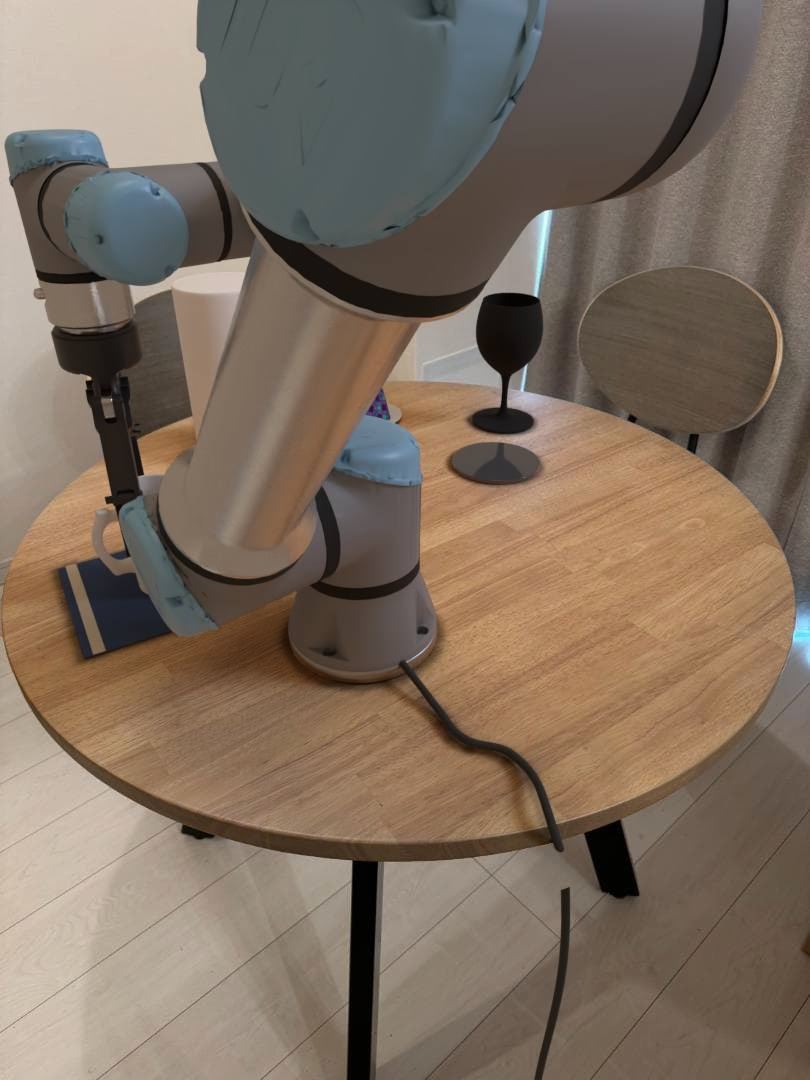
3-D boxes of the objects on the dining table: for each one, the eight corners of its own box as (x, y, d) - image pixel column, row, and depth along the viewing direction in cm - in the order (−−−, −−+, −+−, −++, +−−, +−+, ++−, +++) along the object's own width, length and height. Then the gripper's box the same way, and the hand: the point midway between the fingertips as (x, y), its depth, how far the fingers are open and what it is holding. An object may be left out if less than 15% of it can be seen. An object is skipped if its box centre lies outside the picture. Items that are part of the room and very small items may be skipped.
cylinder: (211, 471, 108) (183, 297, 94) (189, 440, 117) (161, 277, 104) (291, 453, 113) (275, 285, 99) (264, 425, 122) (246, 267, 109)
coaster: (555, 476, 106) (556, 472, 106) (473, 490, 103) (473, 486, 102) (514, 440, 117) (515, 436, 116) (438, 452, 113) (438, 449, 113)
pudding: (392, 436, 118) (391, 405, 115) (321, 429, 121) (319, 398, 118) (409, 408, 128) (409, 379, 125) (343, 402, 130) (342, 373, 128)
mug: (188, 558, 88) (170, 468, 82) (206, 586, 83) (189, 493, 77) (101, 584, 84) (75, 491, 77) (114, 615, 79) (88, 519, 72)
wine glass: (466, 430, 120) (472, 306, 109) (476, 407, 128) (482, 289, 118) (530, 437, 118) (543, 310, 107) (536, 412, 126) (548, 293, 116)
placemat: (256, 604, 81) (256, 602, 81) (84, 659, 73) (83, 657, 73) (207, 530, 94) (207, 528, 94) (57, 570, 86) (57, 568, 86)
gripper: (54, 292, 76) (99, 474, 88) (41, 371, 57) (102, 592, 68) (130, 286, 79) (164, 464, 90) (143, 360, 59) (185, 577, 70)
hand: (138, 520), depth 79 cm, fingers open, 13 cm apart
